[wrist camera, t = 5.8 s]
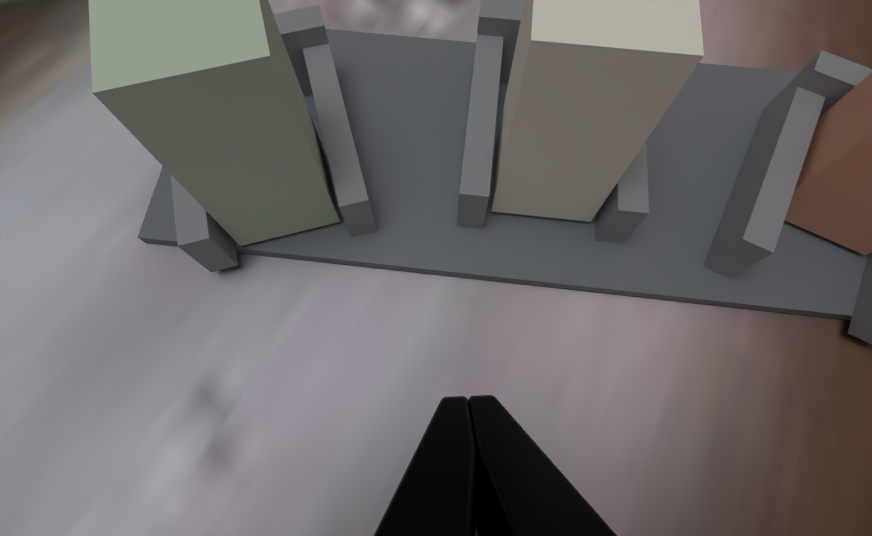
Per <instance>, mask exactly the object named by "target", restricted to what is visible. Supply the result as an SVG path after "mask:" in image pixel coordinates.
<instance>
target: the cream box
mask: <svg viewBox="0 0 872 536" xmlns="http://www.w3.org/2000/svg"><path fill="white" fill-rule="evenodd" d="M703 56H704V52H703V41H702V29H701V18H700V7H699V0H525V1H524V6H523V11H522V16H521V21H520V27H519V32H518V37H517V42H516V47H515V52H514V57H513V62H512V67H511V72H510V77H509V82H508V87H507V92H506V97H505V102H504V107H503V112H502V117H501V122H500V127H499V132H498V138H497V149H496V161H495V172H494V184H493V195H492V207H491V211H492V212H501V213H511V214H520V215H530V216H539V217H549V218H558V219H568V220H578V221H587V222H591V221H592V219H593V218H594V216H595V215H596V213H597V212H598V210H599V209H600V207H601V206H602V204H603V203H604V202H605V200H606V199H607V197H608V196H609V194H610V193H611V191H612V190H613V188H614V187H615V185H616V184H617V182H618V181H619V180H620V178H621V177H622V175H623V174H624V172H625V171H626V169H627V168H628V166H629V165H630V163H631V162H632V160H633V159H634V158H635V156H636V155H637V153H638V152H639V150H640V149H641V147H642V146H643V144H644V143H645V141H646V140H647V138H648V137H649V135H650V134H651V133H652V131H653V130H654V128H655V127H656V125H657V124H658V122H659V121H660V119H661V118H662V116H663V115H664V113H665V112H666V111H667V109H668V108H669V106H670V105H671V103H672V102H673V100H674V99H675V97H676V96H677V94H678V93H679V91H680V90H681V89H682V87H683V86H684V84H685V83H686V81H687V80H688V78H689V77H690V75H691V74H692V72H693V71H694V69H695V68H696V67H697V65H698V64H699V62H700V61H701V59H702V58H703Z"/></svg>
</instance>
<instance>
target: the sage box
mask: <svg viewBox="0 0 872 536" xmlns="http://www.w3.org/2000/svg"><path fill="white" fill-rule="evenodd" d="M89 20H90V43H91V67H92V91H93V94H94V95H95V96H96V97H97V98H98V99H99V100H100V101H101V102H102V103H103V104H104V105H105V106H106V107H107V108H108V109H109V110H110V111H111V112H112V113H113V115H114V116H115V117H116V118H117V119H118V120H119V121H120V122H121V123H122V124H123V125H124V126H125V127H126V128H127V129H128V130H129V131H130V132H131V133H132V134H133V135H134V136H135V137H136V138H137V139H138V140H139V142H140V143H141V144H142V145H143V146H144V147H145V148H146V149H147V150H148V151H149V152H150V153H151V154H152V155H153V156H154V157H155V158H156V159H157V160H158V161H159V162H160V163H161V164H162V165H163V166H164V167H165V169H166V170H167V171H168V172H169V173H170V174H171V175H172V176H173V177H174V178H175V179H176V180H177V181H178V182H179V183H180V184H181V185H182V186H183V187H184V188H185V189H186V190H187V191H188V192H189V193H190V194H191V196H192V197H193V198H194V199H195V200H196V201H197V202H198V203H199V204H200V205H201V206H202V207H203V208H204V209H205V210H206V211H207V212H208V213H209V214H210V215H211V216H212V217H213V218H214V219H215V220H216V221H217V222H218V224H219V225H220V226H221V227H222V228H223V229H224V230H225V231H226V232H227V233H228V234H229V235H230V236H231V237H232V238H233V239H234V240H235V241H236V242H237V243H238V244H239V245H240V246H243V245H247V244H251V243H255V242H259V241H263V240H268V239H272V238H276V237H280V236H284V235H288V234H292V233H296V232H300V231H304V230H309V229H313V228H317V227H321V226H325V225H329V224H333V223H337V222H340V219H339V215H338V210H337V206H336V201H335V197H334V193H333V188H332V184H331V180H330V175H329V171H328V166H327V162H326V158H325V153H324V149H323V146H322V144H321V141H320V138H319V135H318V133H317V130H316V127H315V125H314V122H313V119H312V117H311V114H310V111H309V109H308V106H307V103H306V101H305V98H304V95H303V93H302V90H301V87H300V85H299V82H298V79H297V77H296V74H295V71H294V69H293V66H292V63H291V61H290V58H289V55H288V53H287V50H286V47H285V45H284V42H283V39H282V37H281V34H280V31H279V29H278V26H277V23H276V20H275V18H274V15H273V12H272V10H271V7H270V4H269V2H268V0H89Z"/></svg>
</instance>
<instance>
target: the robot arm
mask: <svg viewBox="0 0 872 536" xmlns="http://www.w3.org/2000/svg"><path fill="white" fill-rule="evenodd" d="M374 536H617V535H616V534H615V533H614V532H613V531H612V530H611V529H610V527H609V526H608V525H607V524H606V523H605V522H604V521H603V519H602V518H601V517H600V516H599V515H598V514H597V513H596V511H595V510H594V509H593V508H592V507H591V506H590V505H589V504H588V502H587V501H586V500H585V499H584V498H583V497H582V496H581V494H580V493H579V492H578V491H577V490H576V489H575V488H574V486H573V485H572V484H571V483H570V482H569V481H568V480H567V478H566V477H565V476H564V475H563V474H562V473H561V472H560V471H559V469H558V468H557V467H556V466H555V465H554V464H553V463H552V461H551V460H550V459H549V458H548V457H547V456H546V455H545V453H544V452H543V451H542V450H541V449H540V448H539V447H538V445H537V444H536V443H535V442H534V441H533V440H532V439H531V438H530V436H529V435H528V434H527V433H526V432H525V431H524V430H523V428H522V427H521V426H520V425H519V424H518V423H517V422H516V420H515V419H514V418H513V417H512V416H511V415H510V414H509V412H508V411H507V410H506V409H505V408H504V407H503V406H502V405H501V403H500V402H499V401H498V400H497V399H496V398H495V397H494V396H492V395H483V396H471V397H470V398H469V399H467V398H466V397H464V396H459V397H444V398H443V399H442V400H441V401H440V403H439V405H438V407H437V409H436V411H435V413H434V415H433V417H432V419H431V421H430V423H429V425H428V427H427V429H426V431H425V433H424V435H423V437H422V440H421V442H420V444H419V446H418V448H417V450H416V452H415V454H414V456H413V458H412V460H411V462H410V464H409V466H408V468H407V470H406V472H405V474H404V476H403V478H402V480H401V482H400V484H399V486H398V488H397V490H396V492H395V494H394V496H393V498H392V500H391V502H390V504H389V506H388V508H387V510H386V512H385V514H384V516H383V518H382V520H381V522H380V524H379V526H378V528H377V530H376V532H375V534H374Z"/></svg>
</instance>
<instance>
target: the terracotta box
mask: <svg viewBox="0 0 872 536" xmlns="http://www.w3.org/2000/svg"><path fill="white" fill-rule="evenodd" d="M785 221H787V222H790V223H792V224H794V225H797V226H799V227H801V228H803V229H806V230H808V231H810V232H813V233H815V234H817V235H820V236H822V237H824V238H826V239H829V240H831V241H833V242H836V243H838V244H840V245H842V246H845V247H847V248H849V249H852V250H854V251H856V252H858V253H861V254H863V255H867V254H869V253H871V252H872V72H871V73H870V74H869V75H868V76H867V77H866V78H865V79H863V80H862V81H861V82H860V83H859V84H858V85H856V86H855V87H854V88H853V89H852V90H851V91H849V92H848V93H847V94H846V95H845V96H844V97H843V98H841V99H840V100H839V101H838V102H837V103H836V104H834V105H833V106H832V107H831V108H830V109H829V110H827V111H826V112H825V113H824V114H823V115H822V116H821V117H819V118H818V121H817V124H816V127H815V130H814V133H813V136H812V139H811V142H810V145H809V148H808V151H807V154H806V157H805V160H804V163H803V166H802V169H801V172H800V175H799V178H798V181H797V184H796V187H795V190H794V193H793V196H792V199H791V202H790V205H789V208H788V211H787V214H786V217H785Z"/></svg>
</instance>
